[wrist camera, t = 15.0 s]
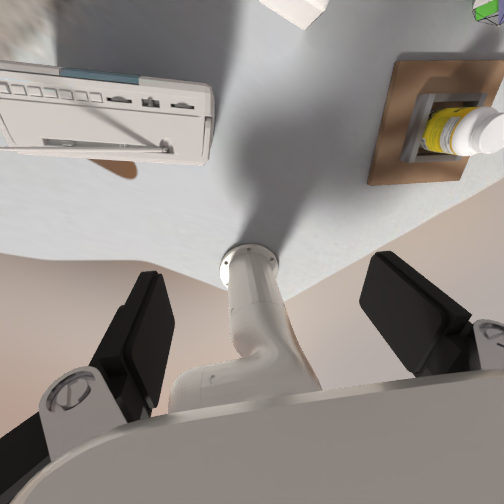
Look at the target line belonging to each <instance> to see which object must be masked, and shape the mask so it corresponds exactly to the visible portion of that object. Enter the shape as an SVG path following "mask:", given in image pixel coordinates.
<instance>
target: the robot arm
mask: <svg viewBox="0 0 504 504" xmlns="http://www.w3.org/2000/svg"><path fill="white" fill-rule="evenodd" d="M277 274H278V262H277V260H276V257H275V255H274V254H273V253H272V252H271V251H270V250H269V249H268V248H266V247H264V246H261V245H258V244H244V245H240V246H237V247H235V248H233V249H232V250H230V251H229V252H228V253H227V254H226V255H225V256H224V258H223V259H222V261H221V264H220V278H221V280H222V282H223V284H224V285H225V286H226V287H227V288H228V302H229V324H230V336H231V340H232V343H233V345H234V347H235V349H236V350H237V352H238V353H239V354H240V355H241V357H242V358H240V359H237V360H231V361H226V362H220V363H215V364H209V365H204V366H199V367H195V368H191V369H188V370H186V371H185V372H183V373H181V374H180V375H179V377H177V379H176V380H175V382H174V384H173V386H172V389H171V392H170V396H169V404H168V414H165V415H160V416H155V417H151V412H152V408H156V407H157V405H158V402H159V397H160V393H161V387H162V383H163V379H164V374H165V369H166V365H167V360H168V355H169V350H170V346H171V341H172V336H173V332H174V327H175V320H174V316H173V312H172V309H171V305H170V301H169V298H168V294H167V290H166V286H165V283H164V279H163V276H162V274H158V273H157V271H146V272H141V273H140V275H139V277H138V279H137V281H136V283H135V285H134V287H133V289H132V291H131V293H130V295H129V297H128V299H127V301H126V303H125V305H122V306H120V307H119V309H118V310H117V312H116V314H115V316H114V318H113V320H112V322H111V324H110V326H109V327H108V329H107V331H106V333H105V335H104V337H103V339H102V341H101V343H100V345H99V346H98V348H97V350H96V352H95V354H94V356H93V358H92V360H91V362H90V364H89V365H88V366H85V367H80V368H76V369H73V370H71V371H69V372H67V373H65V374H64V375H63V376H61V377H60V378H58V379H57V380H56V381H54V382H53V383H52V384H51V385H50V386H49V388H48V389H47V390H46V391H45V393H44V394H43V396H42V398H41V401H40V403H39V411H38V412H37V413H36V414H34V415H33V416H31V417H30V418H29V419H27V420H26V421H24V422H23V423H21V424H20V425H19V426H17V427H16V428H14V429H13V430H12V431H10V432H9V433H7V434H6V435H5V436H3V437H2V438H0V504H504V324H502V323H499V322H496V321H492V320H485V319H481V320H477V321H476V322H474V323H473V324H472V323H470V322H469V321H468V320H469V319H470V317H471V316H472V314H471V313H469V312H468V311H467V310H466V309H464V308H463V307H462V306H460V305H459V304H458V303H457V302H455V301H454V300H453V299H451V298H450V297H449V296H448V295H447V294H445V293H444V292H443V291H441V290H440V289H439V288H438V287H436V286H435V285H434V284H432V283H431V282H430V281H429V280H427V279H426V278H425V277H424V276H422V275H421V274H420V273H418V272H417V271H416V270H415V269H413V268H412V267H411V266H410V265H408V264H407V263H406V262H405V261H403V260H402V259H401V258H399V257H398V256H397V255H396V254H394V253H393V252H391V251H382V252H376V253H375V255H373V256H372V258H371V260H370V264H369V267H368V271H367V275H366V278H365V282H364V285H363V289H362V292H361V296H360V300H359V303H360V306H361V308H362V309H363V311H364V312H365V313H366V315H367V316H368V317H369V319H370V320H371V322H372V323H373V324H374V326H375V327H376V328H377V330H378V331H379V332H380V334H381V335H382V336H383V338H384V339H385V340H386V342H387V343H388V344H389V346H390V347H391V349H392V350H393V351H394V353H395V354H396V355H397V357H398V358H399V359H400V361H401V362H402V364H403V365H404V366H405V368H406V369H407V370H408V371H409V372H412V373H413V374H414V376H415V377H416V378H411V379H404V380H396V381H389V382H382V383H374V384H367V385H359V386H352V387H345V388H338V389H331V390H324V391H322V388H321V385H320V383H319V381H318V378H317V376H316V374H315V372H314V371H313V369H312V367H311V365H310V363H309V362H308V360H307V358H306V356H305V355H304V353H303V351H302V349H301V347H300V345H299V343H298V341H297V338H296V336H295V334H294V331H293V328H292V325H291V323H290V320H289V317H288V314H287V311H286V308H285V305H284V302H283V299H282V296H281V294H280V291H279V288H278V285H277V282H276V277H277ZM150 417H151V418H150Z"/></svg>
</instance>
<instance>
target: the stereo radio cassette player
mask: <svg viewBox="0 0 504 504" xmlns="http://www.w3.org/2000/svg"><path fill="white" fill-rule="evenodd" d="M214 119H215V99H214V94H213V91H212V87H211V86H209V85H208V84H206V83H200V82H191V81H182V80H173V79H165V78H156V77H147V76H141V75H133V74H123V73H112V72H102V71H94V70H85V69H76V68H67V67H58V66H49V65H41V64H32V63H23V62H14V61H5V60H0V128H1V130H2V132H3V134H4V136H5V139H6V141H7V143H8V145H9V147H0V150H6V151H15V152H17V153H18V154H26V155H42V156H58V157H74V158H90V159H106V160H123V161H137V162H153V163H169V164H185V165H201V166H204V165H205V163H206V162H207V161H208V160H209V155H210V148H211V145H212V140H213V132H214Z"/></svg>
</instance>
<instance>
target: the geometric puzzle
mask: <svg viewBox="0 0 504 504" xmlns="http://www.w3.org/2000/svg"><path fill="white" fill-rule="evenodd" d="M472 6H473V8H472V10H471V11H472V12H473V10H474V9H475V11H476V19H475V20H476V21H475V22H479V20H483V19H482V18H484V19H487V18H485V17H486V16H488V15H491V14H493V13H495V12H497V11H499V25H498V27H499V26H500V25H501V24H502V23H503V22H504V0H475V2H474V5H473V3H472ZM475 11H474V12H475ZM495 16H498V15H495ZM474 17H475V16H474ZM492 17H494V16H492ZM488 18H491V17H488ZM487 20H488V19H487ZM489 21H490V20H489ZM491 22H492V21H491ZM482 23H483V22H482ZM492 23H493V22H492ZM487 24H488V23H487ZM494 24H495V23H494ZM491 25H493V24H491ZM496 26H497V24H496Z"/></svg>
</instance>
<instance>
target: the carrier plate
mask: <svg viewBox="0 0 504 504" xmlns="http://www.w3.org/2000/svg"><path fill="white" fill-rule="evenodd" d="M503 77H504V60H455V61H398V62H395V64H394V68H393V73H392V77H391V82H390V86H389V90H388V95H387V99H386V103H385V108H384V112H383V117H382V121H381V125H380V130H379V134H378V139H377V143H376V147H375V152H374V156H373V160H372V165H371V169H370V174H369V178H368V182H367V184H368V185H370V186H373V185H390V184H408V183H426V182H443V181H459V180H460V178H461V176H462V173H463V171H464V169H465V166H466V164H467V162H468V159H469V157H470V156H458V155H453V154H447V153H441V152H434V151H428V150H423V149H421V148H419V146H420V143H421V139H422V136H423V133H424V130H425V127H426V124H427V120H428V117H429V114H430V112H431V111H433V110H436V109H440V108H462V107H491V105H492V103H493V101H494V98H495V96H496V94H497V91H498V89H499V87H500V84H501V82H502V79H503Z"/></svg>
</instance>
